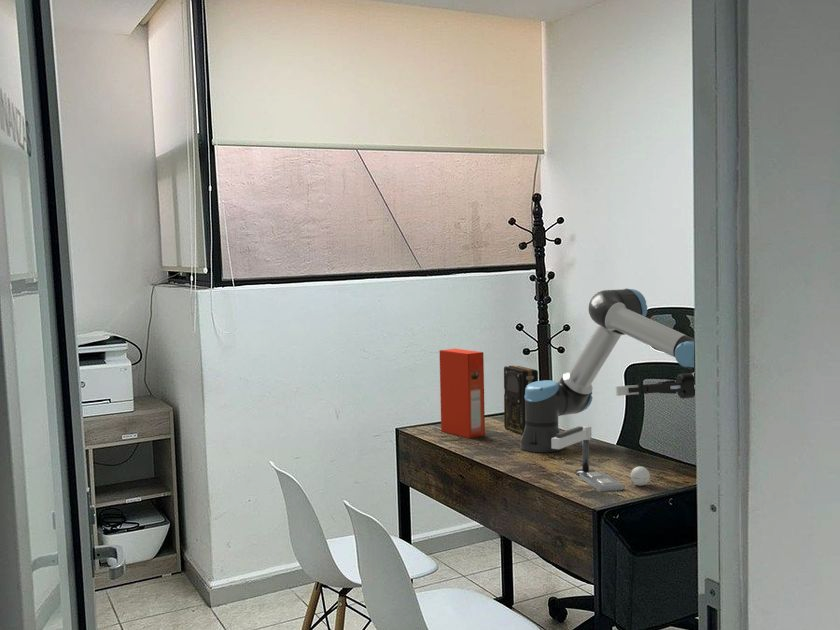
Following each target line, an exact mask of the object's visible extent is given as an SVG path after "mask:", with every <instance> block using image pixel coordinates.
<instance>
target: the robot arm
mask: <svg viewBox="0 0 840 630" xmlns="http://www.w3.org/2000/svg"><path fill="white" fill-rule="evenodd" d="M647 313H648V305H647V300H646V298H645V296H644V295H643V294H642V293H641V291H639V290H636V289H634V288H623V289H603V290H600V291H598V292H597V293H595V294H594V295H593V296H592V297H591V298H590V300H589V303H588V314H589V316H590V318H591V320H592V321H593V322H594V323H595V324H597V326H596V327H595V329H594V331H593V333H592V334H591V336H590V338H589V339H588V341H587V343H586V344H585V346H584V347H583V349H582V350H581V353H580V354H579V356H578V357H577V359H576V361H575V363H574V364H573V366H572V367H571V369H570V370H569V371H566V372H564V373H563V374H562V376H561V378H560V379H559V381H558V382H557V381H556V380H550V379H549V380H545V379H543V380H538V381H536V382H532V383H530V384H528V385H527V386H526V389H525V429H524V432H523V435H522V434H521V438H520V449H521V450H522V451H523V450H524V451H526V452H533V453H555V452H559V451H563V450H564V448H561V449H552V448H551V438H554V437H556V434H558V433H561V431H560V427H559V417H561V416H568V415H573V414H574V415H575V414H578V413H582V412H584V411H585V410H587V409H588V408H589V407H590V406H591V404H592V401H593V396H592V395H593V385H592V383H593V382H594V380H595V378H596V377H597V376H598V373H599V372H600V370H601V368H602V367H603V366H604V364H605V362H606V361H607V359H608V357H609V356H610V354H611V352H612V351H613V349H614V348H615V346H616V344H617V343H618V341H619V339H620V338H621V336H625V335H627V336H628V337H631V338H633V339H635V340H637V341H639V342H642V343H643V344H645V345H647V346H650V347H651V348H654V349H656V350H658V351H660V352H663V353H665V354H666V355H668V356H670V357H673V358H675V361H676V362H677V363H678V364H679V366H681V367H683V368H695V367H694V339H695V338H694V337H690V336H688V335H687V334H684V333H682V332H680V331H678V330H676V329H673V328H671V327H669V326H666V325H664V324H662V323H660V322H657V321H655V320H653V319H651V318H649V317H646V316H647ZM694 373H695V372H692V373H690V372H687V373H686V372H685V373H684V372H683V373H679V374H678V375H677V376H676V379H674V380H671V379H670V380H665V381H658V382H657V383H647V384H642V382H638V384H635V385H620V386H615V395H616V396H617V397H618V396H619V397H620V396H631V395H636V396H637V397H640V395H647V394H657V393H659V394H670V395H673V394H677V396H678V397H679V398H681V399H682V400H683V399H693V398H696V397H695V389H694Z"/></svg>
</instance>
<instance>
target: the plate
mask: <svg viewBox="0 0 840 630" xmlns="http://www.w3.org/2000/svg"><path fill="white" fill-rule="evenodd" d="M578 478H579V479H580V480H582V481H584V482H585V483H587V484H588V485H589V486H591V487H592V488H594V489H596V490H597V491H598V492H612V491H623V490H624V487H623V485H624V484H622V483H620V482H619V481H617V480H615V479H614V478H612V477H611V476H609V475H608V474H606V473H604V472H602V471H600V470H599V471H595V472H585V473H579V476H578Z"/></svg>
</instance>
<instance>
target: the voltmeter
mask: <svg viewBox="0 0 840 630" xmlns="http://www.w3.org/2000/svg"><path fill="white" fill-rule="evenodd" d="M536 381H539V372H538V370H537V369H533V368H528V367H524V366H520V365H509V366H508V365H507V366H506V365H505V366H504V367H503V389H504V390H503V391H504V393H503V406H504V407H503V410H504V411H503V412H504V414H503V416H504V419H503V420H504V423H503V424H504V426H503V427H504V428H505V429H506V430H509V431H511V432H514V433H516V434H519V435H521V436H522V435H523V432H524V429H525V389H526V386H527V385H528V384H530V383H532V382H536Z"/></svg>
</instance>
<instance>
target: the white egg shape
mask: <svg viewBox="0 0 840 630" xmlns="http://www.w3.org/2000/svg"><path fill="white" fill-rule="evenodd" d="M629 475H630V479H631V482H632V483H633V484H634V485H636V486H640V487H641V486H645V485H647V484H648V483H649V481H650V480H651V475H650V472H649V470H648V469H647V468H646V467H644V466H636V467H634V468H632V470H631V472H630V474H629Z"/></svg>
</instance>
